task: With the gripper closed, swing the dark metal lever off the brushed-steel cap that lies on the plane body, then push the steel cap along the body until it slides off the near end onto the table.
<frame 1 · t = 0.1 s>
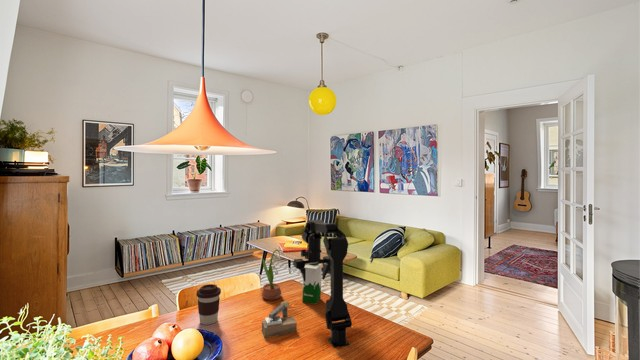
hand: (313, 280, 150), 15 cm above the table, tool pointing down, fingers open, 9 cm apart
lever: (279, 309, 136), point 7 cm above the table, hinge at 0.0°
plane body: (279, 331, 132), on the table
milk carton: (311, 301, 163), on the table
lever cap: (273, 322, 131), point 4 cm above the table, touching plane body
potted flower: (273, 297, 167), on the table
coffee cup: (208, 321, 140), on the table
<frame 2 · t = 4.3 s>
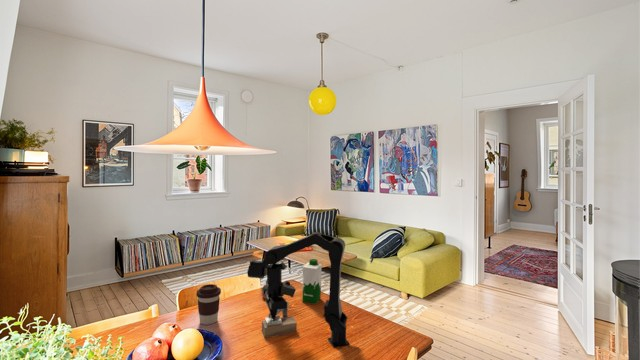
hand: (273, 318, 129), 7 cm above the table, tool pointing down, fingers closed
lever: (279, 309, 136), point 7 cm above the table, hinge at -1.0°, touching gripper
everything else where it was.
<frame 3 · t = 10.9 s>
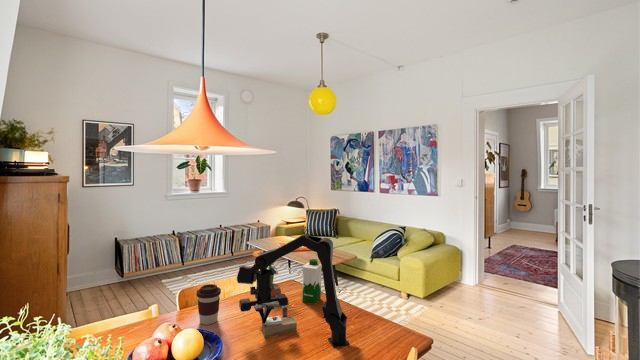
hand: (263, 323, 130), 4 cm above the table, tool pointing down, fingers closed
lever: (273, 305, 140), point 7 cm above the table, hinge at -63.8°
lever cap: (273, 322, 131), point 4 cm above the table, touching gripper
everything else where it was.
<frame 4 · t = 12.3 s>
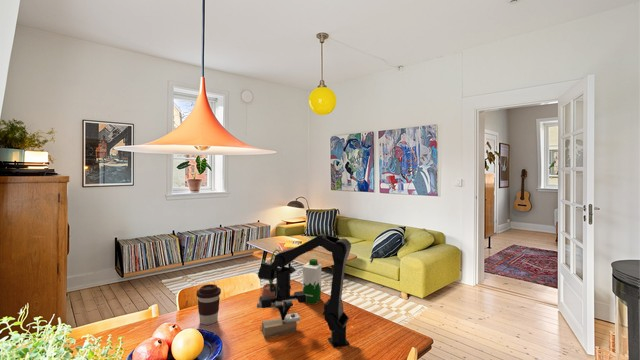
hand: (282, 319, 132), 5 cm above the table, tool pointing down, fingers closed
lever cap: (291, 319, 134), point 4 cm above the table, touching gripper, plane body
everything else where it was.
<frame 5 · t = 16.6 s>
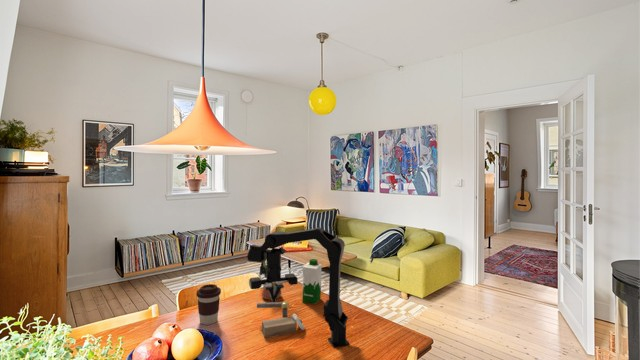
hand: (273, 302, 131), 12 cm above the table, tool pointing down, fingers closed
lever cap: (297, 322, 134), point 2 cm above the table, tilted 56°, touching plane body
everything else where it was.
at the end: lever at -64° (first picture: +0°); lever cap inside the target area (4.3 cm from its centre), point 2.5 cm above the table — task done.
